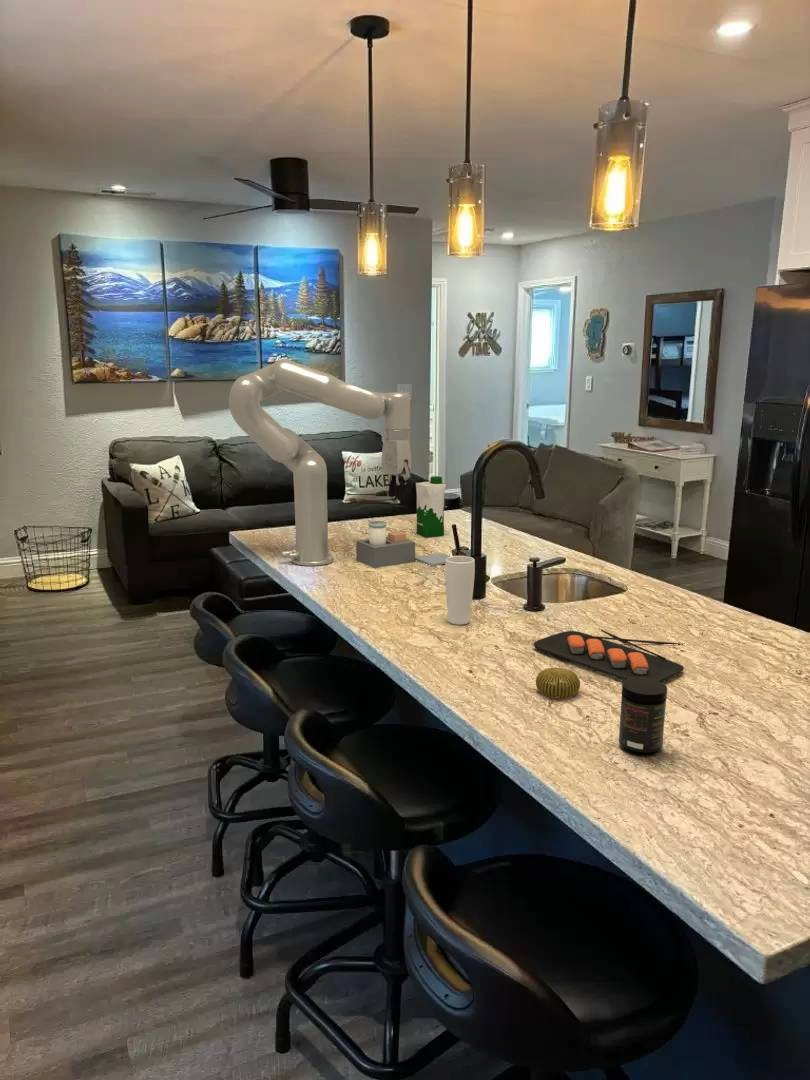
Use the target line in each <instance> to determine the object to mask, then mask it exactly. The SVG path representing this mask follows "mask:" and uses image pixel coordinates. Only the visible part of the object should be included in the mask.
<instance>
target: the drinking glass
mask: <svg viewBox="0 0 810 1080" xmlns="http://www.w3.org/2000/svg"><path fill="white" fill-rule="evenodd" d="M475 562H476V561H475V558H473V557H472V556H467V555H453V556H451V557H448V558H446V562H445V565H444V580H445V596H446V606H447V607H446V608H447V610H446V611H447V612H446V613H447V621H448V623H450V624H452V625H458V626H461V625H462V626H463V625H467V624H469V623H470V622H471V617H472V603H473V595H474V585H475V577H476V576H475V574H476V571H475V570H476V569H475V568H476V563H475Z"/></svg>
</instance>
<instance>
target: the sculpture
mask: <svg viewBox="0 0 810 1080" xmlns="http://www.w3.org/2000/svg"><path fill="white" fill-rule="evenodd" d="M535 685H536V686H535V687H536V688H537V690H538V691H539V692H540V694H542V695H543V696H545V697H548V698H551V699H557V700H558V699H559V700H560V699H561V700H562V699H569V698H571V697H574V696H575V695H576V694H577V693H578V692H579V690H580V688H581V681H580V677H578V675H577V674H576V673H575V672H573V671H572V670H571V669H568V668H567V669H566V668H563V667H562V668H561V667H548V668H544V669H543V670H541V671H540V672H539V673H538V674H537V675H536V679H535Z"/></svg>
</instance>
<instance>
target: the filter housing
mask: <svg viewBox="0 0 810 1080" xmlns="http://www.w3.org/2000/svg"><path fill="white" fill-rule="evenodd" d="M355 543H356V544H355V545H356V547H355V548H356V549H355V551H356V552H355V553H356V556H355V557H356V561H358V562H360V563H361V564H362V563H363V564H364V565H367V566H369V567H371V568H373V569H377V568H383V567H389V566H396V565H402V564H409V563H415V562H416V560H415V557H416V542H415V541H413V540H410V539H407V538H406V541H400V542H392V541H390V540H388V536H386V544H384V545H377V546H372V545H370V544H369V538H366V539H358V540H355Z"/></svg>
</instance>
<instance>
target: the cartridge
mask: <svg viewBox="0 0 810 1080" xmlns="http://www.w3.org/2000/svg"><path fill="white" fill-rule="evenodd" d="M386 537H387V522H386V521H381V520H374V521H369V522H368V539H369V544H370V545H372V546H377V545H384V544H386Z"/></svg>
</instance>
